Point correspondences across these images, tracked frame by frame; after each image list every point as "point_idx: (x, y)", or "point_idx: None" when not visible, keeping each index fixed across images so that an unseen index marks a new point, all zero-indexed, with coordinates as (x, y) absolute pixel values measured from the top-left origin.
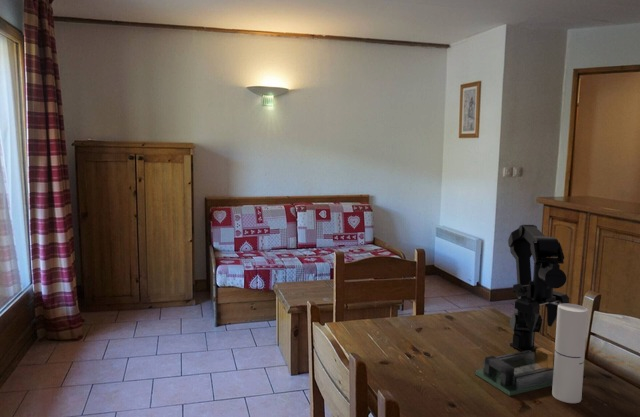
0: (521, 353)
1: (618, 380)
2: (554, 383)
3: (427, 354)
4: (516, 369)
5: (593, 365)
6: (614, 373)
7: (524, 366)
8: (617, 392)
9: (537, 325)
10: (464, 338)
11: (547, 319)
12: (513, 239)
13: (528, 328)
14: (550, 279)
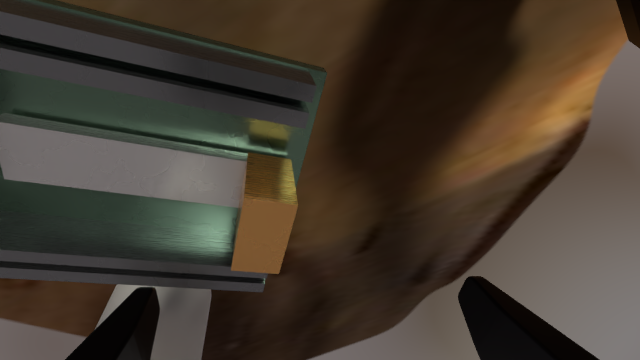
0: (221, 82)
1: (412, 299)
2: (96, 327)
3: None
4: (62, 148)
5: (482, 222)
6: (456, 275)
7: (145, 150)
8: (330, 328)
9: (634, 37)
10: None
11: (515, 326)
12: None
13: (110, 320)
14: None
